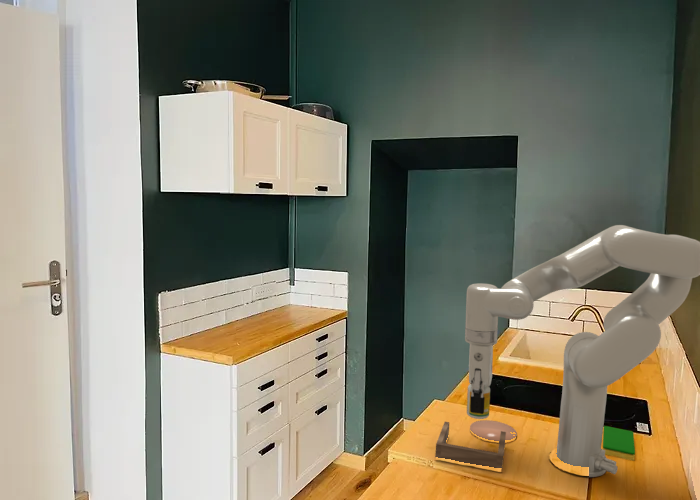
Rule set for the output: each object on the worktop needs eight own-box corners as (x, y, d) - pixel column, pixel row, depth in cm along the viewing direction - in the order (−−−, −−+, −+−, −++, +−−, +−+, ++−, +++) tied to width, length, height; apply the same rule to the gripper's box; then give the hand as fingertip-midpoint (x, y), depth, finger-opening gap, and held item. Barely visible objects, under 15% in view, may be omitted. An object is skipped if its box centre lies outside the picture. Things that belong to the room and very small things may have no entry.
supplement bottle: (463, 411, 139) (464, 374, 138) (482, 409, 140) (484, 372, 139) (472, 420, 134) (474, 381, 133) (493, 418, 135) (494, 380, 134)
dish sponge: (632, 439, 148) (633, 431, 148) (634, 462, 136) (635, 453, 136) (603, 433, 151) (603, 425, 151) (602, 455, 139) (603, 446, 139)
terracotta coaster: (525, 435, 147) (525, 432, 147) (499, 448, 139) (500, 445, 139) (487, 419, 156) (487, 416, 156) (460, 430, 148) (460, 428, 148)
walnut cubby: (501, 472, 127) (503, 456, 127) (435, 460, 132) (436, 444, 132) (504, 447, 140) (505, 431, 140) (443, 436, 145) (444, 421, 144)
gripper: (494, 346, 126) (491, 424, 128) (499, 328, 142) (496, 397, 144) (460, 343, 128) (458, 419, 130) (469, 325, 144) (466, 393, 146)
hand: (478, 407), depth 137 cm, fingers closed on supplement bottle, 5 cm apart
